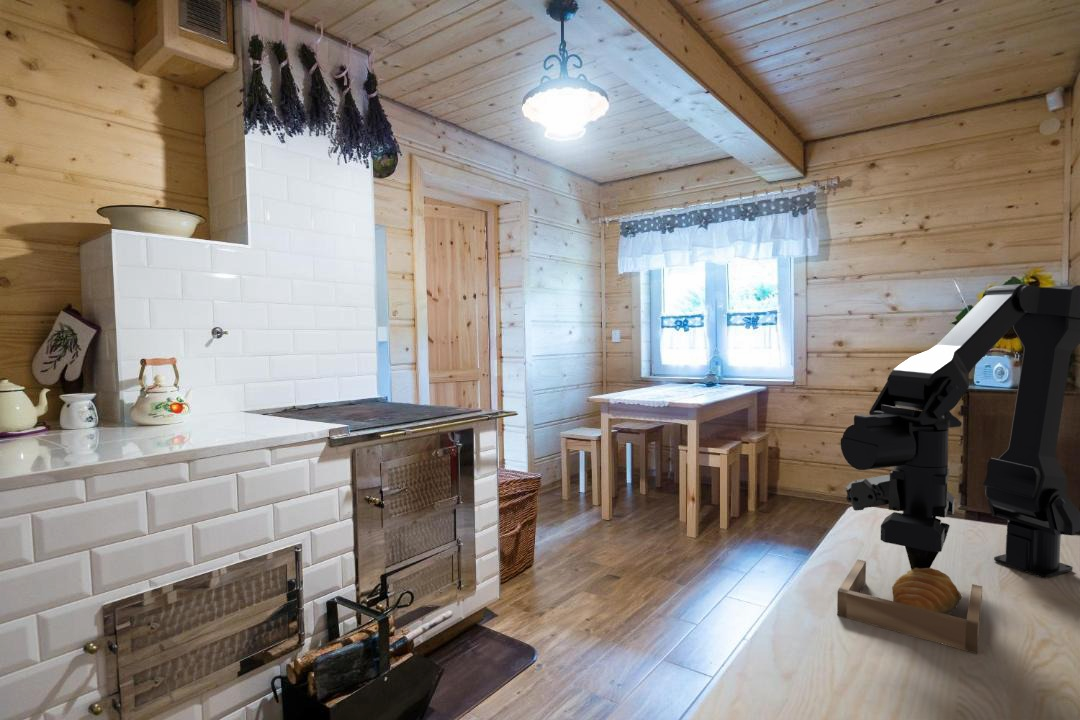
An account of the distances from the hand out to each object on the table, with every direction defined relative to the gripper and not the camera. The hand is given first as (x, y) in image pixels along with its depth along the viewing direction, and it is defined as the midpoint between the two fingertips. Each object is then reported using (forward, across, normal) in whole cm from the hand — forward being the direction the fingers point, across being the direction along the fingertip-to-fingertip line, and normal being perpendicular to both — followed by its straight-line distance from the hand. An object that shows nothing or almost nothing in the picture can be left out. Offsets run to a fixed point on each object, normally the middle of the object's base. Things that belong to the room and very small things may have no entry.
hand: (918, 578), depth 77 cm
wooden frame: (+1, +8, 0) cm, 8 cm away
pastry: (+1, +5, +1) cm, 6 cm away
